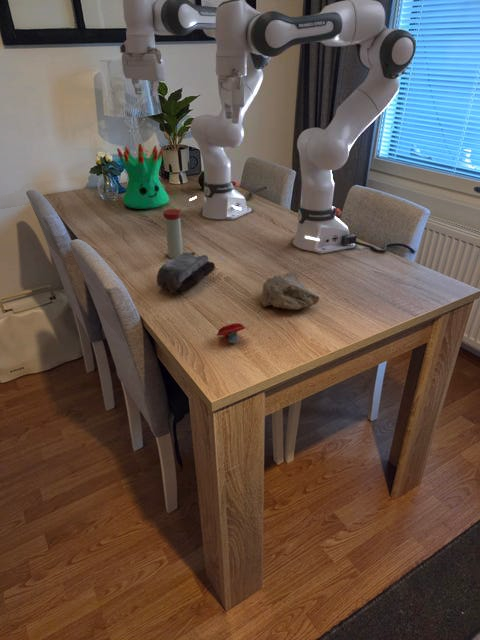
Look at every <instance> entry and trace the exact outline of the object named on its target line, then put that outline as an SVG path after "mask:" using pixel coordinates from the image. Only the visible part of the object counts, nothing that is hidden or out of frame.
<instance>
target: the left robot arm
mask: <svg viewBox="0 0 480 640" xmlns="http://www.w3.org/2000/svg"><path fill="white" fill-rule="evenodd" d="M222 2H224V1H223V0H217V1H210V2H207V3H205V4H204V5H198V4H195V3H193V2H192V1H190V0H122V8H123V9H122V10H123V20H124V23H125V27H126V32H125V36H126V40H124V42H123V43H122V44H120V45H119V53H120V54H121V66H122V72H123V75H124V78H125V79H128V80H129V79H130V80H131V84H132V87H133V89H134V94H135V95H142V94H143V91H142V90H143V89H142V88H141V86H140V84H139V83H140V81H148V82H149V81H150V85H151V89H150V90H149V93H150V97H155V98H156V97H158V90H159V86H160V82H165V80H166V79H167V77H166V76H167V75H166V65H165V61H164V57H163V55H162V52H161V50H160V49H159V47H156V37H155V35H157V36H178V37H179V36H180V37H183V36H184V37H185V36H187V35H188V34H191V33H192V32H193V31H195V30H202V31H203V33H204V34H205V36H207V37H210V38H214V39H215V19H216V11H217V7H218V6H219V5H220V4H221V3H222ZM271 59H272V57H267V56H264V55H257V54H254V53H252V52H248V53H247V75H245V76H242V77H243V79H244V86H245V105H244V107H241V108H240V113H239V122H238V123H236V124H234V123H232V118H231V119H227V118H226V117H225V108H224V102H222V101H221V100H220V105H221V107H222V108H221V110H220V112H219V114H218V115H212V114H200V115H197V116H195V117H194V118H193V119H192V121H191V123H190V134H191V136H192V138H193V139H194V140H195V142H196V145H197V146H198V149H199V151H200V154H201V158H202V164H203V172H204V180H205V181H204V189H203V193H204V194H203V195H204V199H203V206H202V207H203V208H202V211H201V216H202V217H204V218H205V219H210V220H229V221H230V220H235V219H237V218H240V217H242V216H244V215H246V214H249V213H250V212H252V208H251V207H250V206H249V205H247V201H249V200H251V199H252V198H253V194H254V193H256V192H259V191H261V190H262V189H263V188H261V187H260V188H257V189H255V190H253V191H251V192H250V196H249V197H248V198H246V197H245V196H244V195H243V194H242V193H240V191H238V190H236V189H235V187H238V186H239V183H240V182H239V181H237V180H232V166H231V165H232V163H231V160H230V158H229V157H228V155H227V154H226V152H225V149H235V148H238V147H240V145H241V144H242V143H243V140H244V137H245V129H244V126H243V121H244V118H245V115H246V113H247V111H248V109H249V108H250V106H251V104H252V102H253V101H254V99H255V98H256V96H257V94H258V92H259V90H260V88H261V86H262V82H263V80H264V72H263V70H264V69H265V68H266V67H267V66H268V64H269V62H270V60H271ZM231 112H232V107H231ZM197 198H198V197H197V195H195V196H194V197H192V198H189V202H191V201H194V200H195V199H197Z"/></svg>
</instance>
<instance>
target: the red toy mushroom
mask: <svg viewBox="0 0 480 640" xmlns="http://www.w3.org/2000/svg"><path fill="white" fill-rule="evenodd" d="M245 329H246V326H244V325H243V324H241V323H238V322H236V323H229V324H227V325H225V326H222V327H221V328H220V329H218V331H217V333H216V336H217V337H222V336H228V342H229V343H230V344H233V345H235V344H236V343H237V342H239V337H238V336H237V333H238V332H240V331H243V330H245Z"/></svg>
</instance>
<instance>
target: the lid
mask: <svg viewBox="0 0 480 640" xmlns="http://www.w3.org/2000/svg"><path fill="white" fill-rule="evenodd" d="M163 218H164V219H165V218H166V219H178V218H180V219H181V218H182V211H181V210H180V209H177V208H170V209H169V208H168V209H165V210H164V211H163Z"/></svg>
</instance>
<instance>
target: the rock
mask: <svg viewBox="0 0 480 640" xmlns="http://www.w3.org/2000/svg"><path fill="white" fill-rule="evenodd" d="M195 255H196V253H195V252H193V251H192V252H183V254H181V255H179V256H176V257H175V258H170V259H169V260H167V261H166V262H165V263H164V264H162V265H161V267H159V269H158V271H157V274H156V284H157V286H158V287H159V288H160V289H163V290H164V289H168V290H169V291H170V292H171V293H172V294H175V295H181V294H182V293H183V292H186V291H188V290H190V289H192V288H194V287H196V286H197V285H198V284H200V282H201V281H202V280H203V279H204V278H205V277H208V276H209V275H210V274H211V273H212V272H213V271H214V270H215V268H216V265H215V263H214V262H213V261H209V257H208V255H206V254H202V255H198V256H195Z"/></svg>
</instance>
